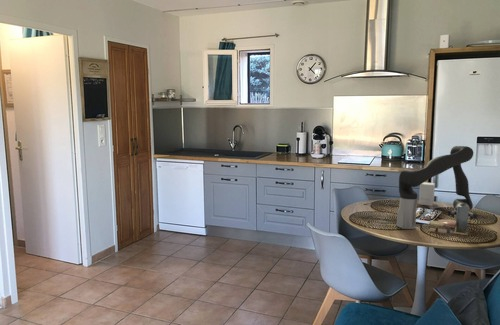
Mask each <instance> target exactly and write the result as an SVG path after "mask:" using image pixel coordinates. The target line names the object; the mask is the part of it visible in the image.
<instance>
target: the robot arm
mask: <svg viewBox="0 0 500 325" xmlns="http://www.w3.org/2000/svg"><path fill="white" fill-rule="evenodd" d="M449 153H450V154H444V155H440V156H437V157H435V158H433V159H430V160H429V161H427V163H426V165H425V167H424V168H421V169H419V170H413V169H408V168H405V169H402V170H401V171H400V173H399V178H398V192H399V205H398V207H399V208H398V209H397V212H396V213H397V214H396V226H397V227H398V228H400V229H404V230H414V229H416V220H417V210H418V209H417V207H418V206H417V205H418V193H417V192H416V191H415V190H414V189H413V188H416V187H420V185H421V184H422V183H424V182H427V181H428V180H430V179H432V178H433V177H435V176H437V175H441V174H442V173H444V172H446V171H448V170H450V169H453V173H454V180H455V182H454V183H455V193H456V195H457V196H460V197H464V198H456V199H454V200H453V203H452V205H453V209H454V210H453V209H451V208H449V209H448V211H447V216H448V217H449V216H450V217H452V218H453V219H454V217H455V218H456V215H457V205H466V206H469V213H468V219H469V221H470V220H473V219H475V220H477V219H478V218H477V217H478V213H477V212H476V211H473V212H471V211H472V209H473V205H474V204H473V202H472V198H471V195H470V188H469V180H468V177H467V175H466V174H465V172H464V170H463V168H462V164H464V163H467V162H469V161H471V159H472V158H473V157H474V150H473V149H472V147H469V146H467V145H466V146H465V145H455V146H453V147H452V148H451V149H450V152H449Z"/></svg>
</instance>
